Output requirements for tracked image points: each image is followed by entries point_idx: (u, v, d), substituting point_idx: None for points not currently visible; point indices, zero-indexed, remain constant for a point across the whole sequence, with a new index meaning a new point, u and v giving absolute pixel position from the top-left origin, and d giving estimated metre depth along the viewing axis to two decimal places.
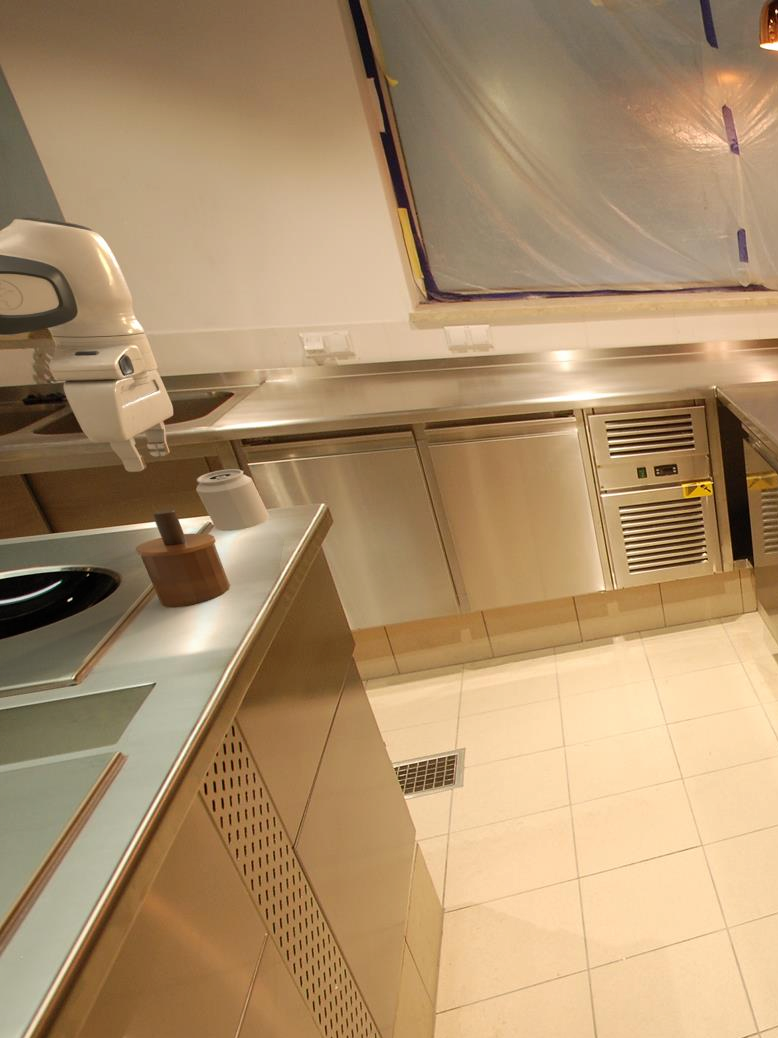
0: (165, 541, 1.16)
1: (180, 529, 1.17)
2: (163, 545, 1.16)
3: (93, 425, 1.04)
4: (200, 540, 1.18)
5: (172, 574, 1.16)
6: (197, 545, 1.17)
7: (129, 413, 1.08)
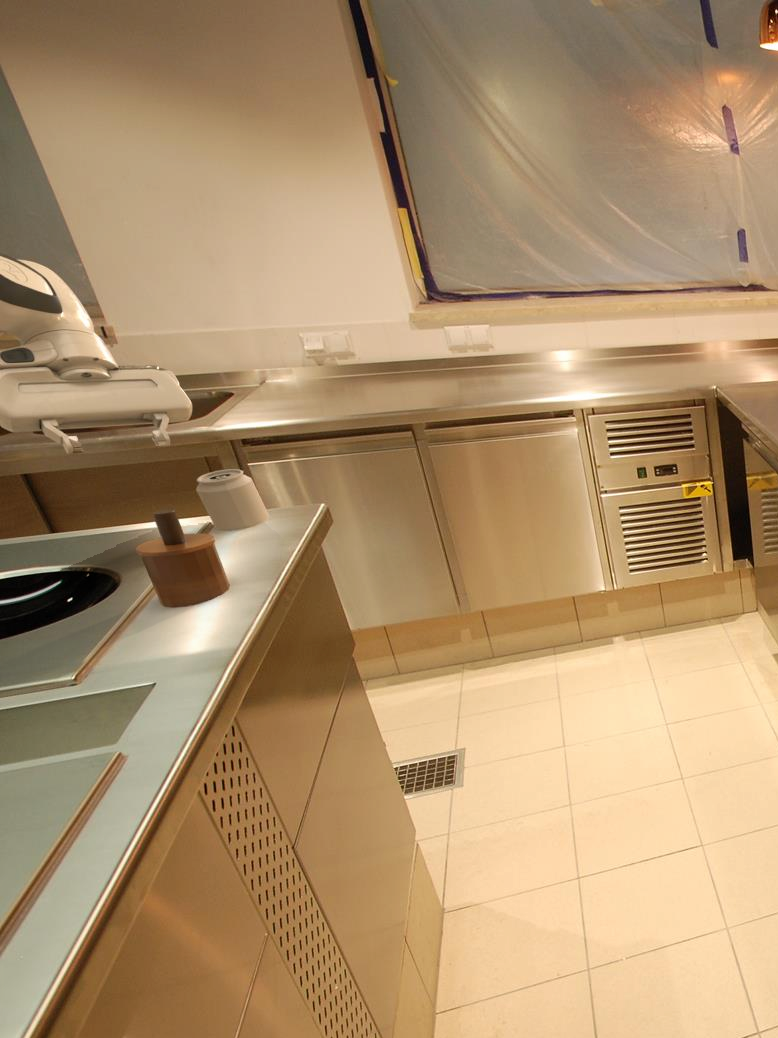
0: (165, 541, 1.16)
1: (180, 529, 1.17)
2: (163, 545, 1.16)
3: None
4: (200, 540, 1.18)
5: (172, 574, 1.16)
6: (197, 545, 1.17)
7: (37, 398, 1.13)
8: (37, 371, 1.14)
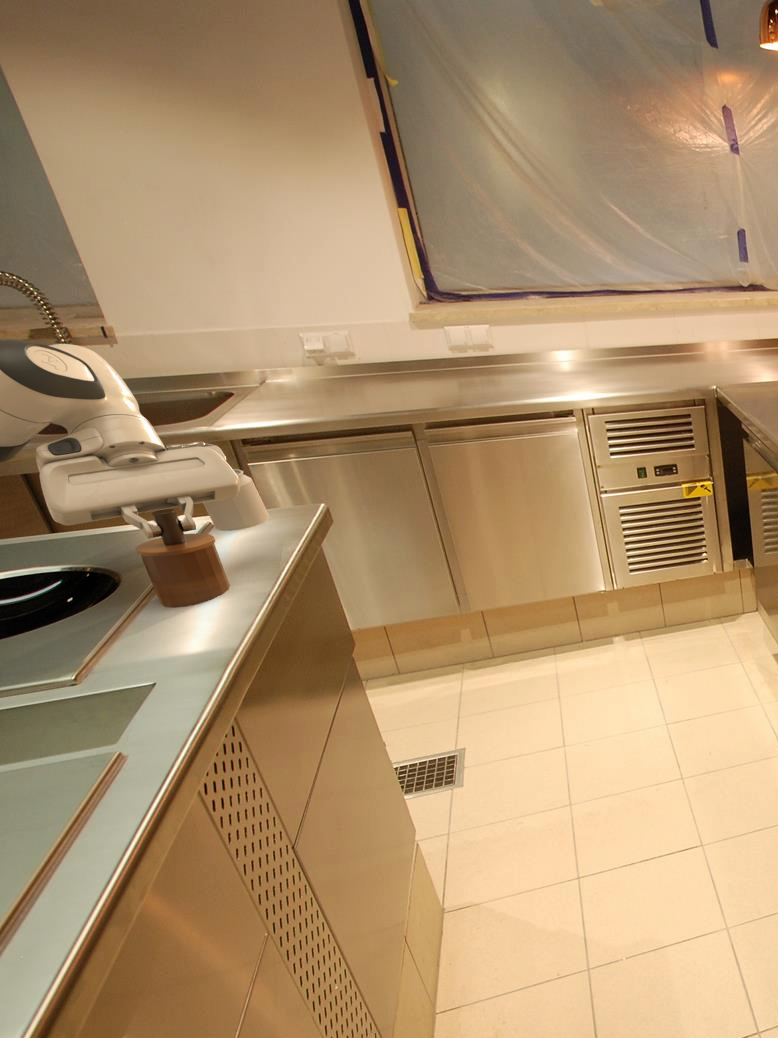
0: (165, 541, 1.16)
1: (180, 529, 1.17)
2: (163, 545, 1.16)
3: (49, 509, 1.10)
4: (200, 540, 1.18)
5: (172, 574, 1.16)
6: (197, 545, 1.17)
7: (87, 489, 1.11)
8: (85, 461, 1.12)
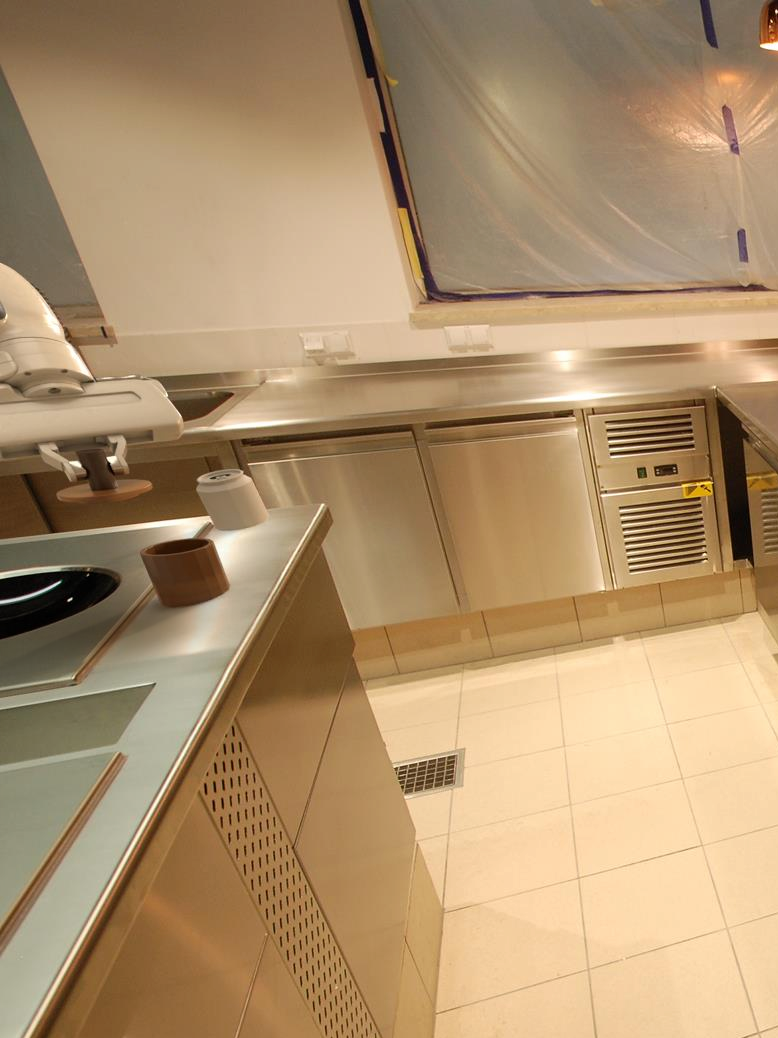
0: (92, 486, 1.00)
1: (110, 472, 1.00)
2: (89, 490, 1.00)
3: None
4: (134, 486, 1.02)
5: (172, 574, 1.16)
6: (129, 490, 1.00)
7: None
8: None
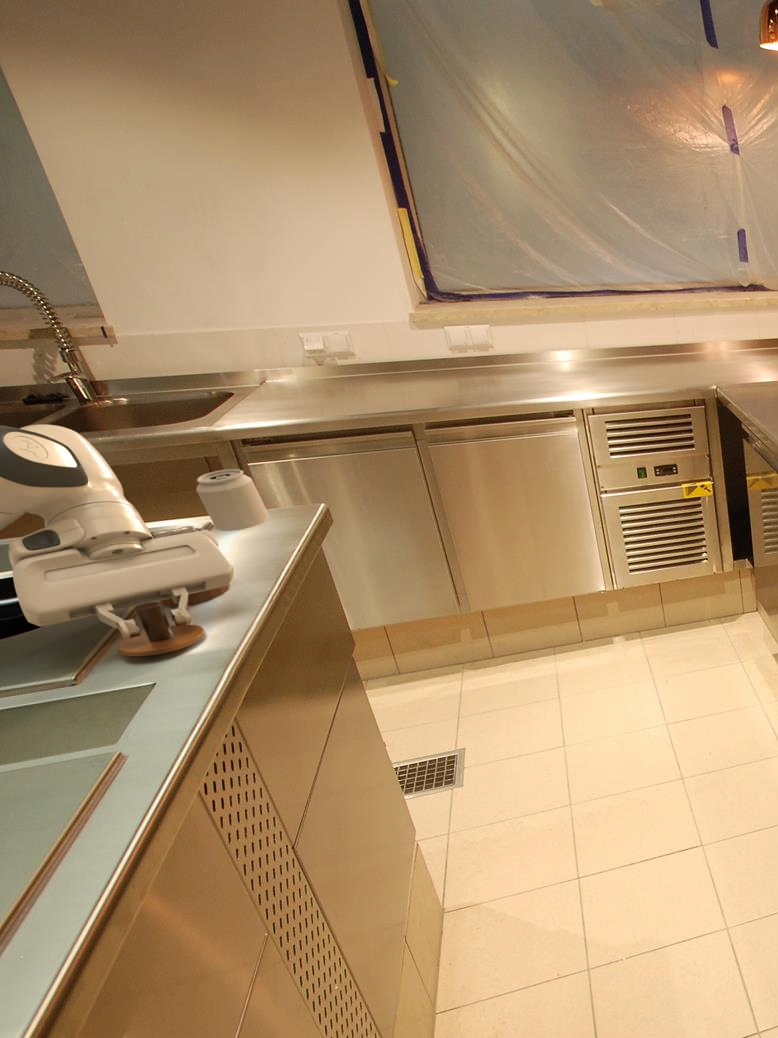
0: (150, 638, 1.07)
1: (166, 623, 1.07)
2: (148, 641, 1.07)
3: (22, 609, 1.00)
4: (188, 634, 1.09)
5: None
6: (186, 641, 1.07)
7: (66, 586, 1.02)
8: (64, 555, 1.02)
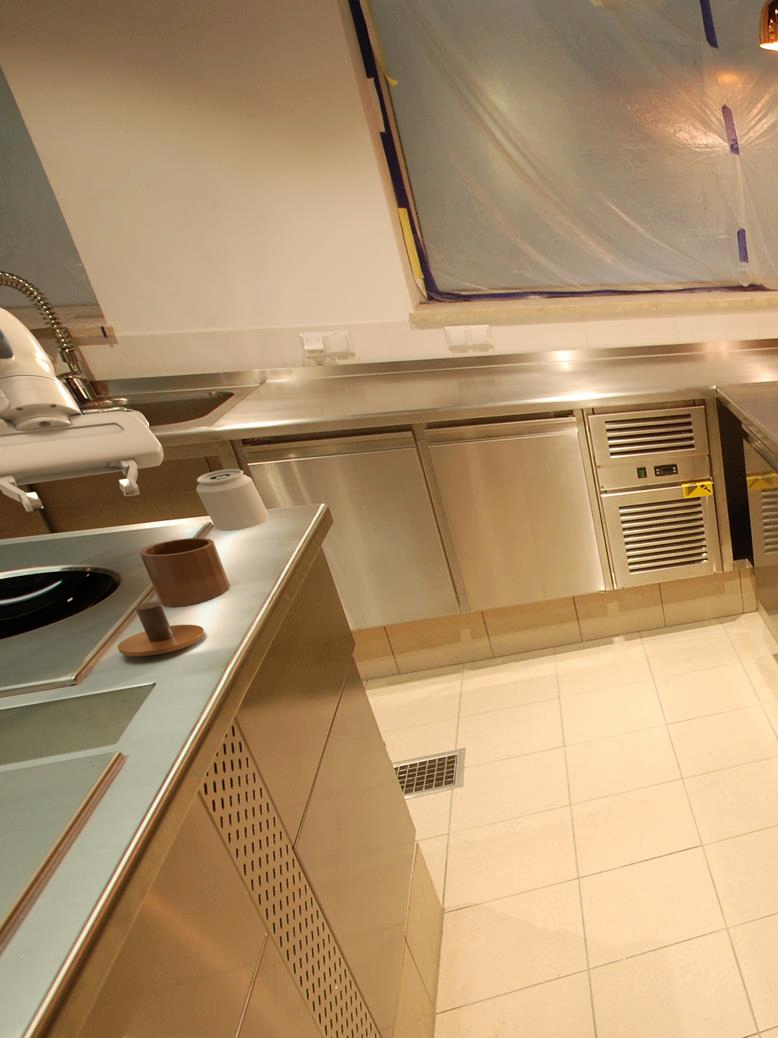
0: (150, 638, 1.07)
1: (166, 623, 1.07)
2: (148, 641, 1.07)
3: None
4: (188, 634, 1.09)
5: (172, 574, 1.16)
6: (186, 641, 1.07)
7: None
8: None
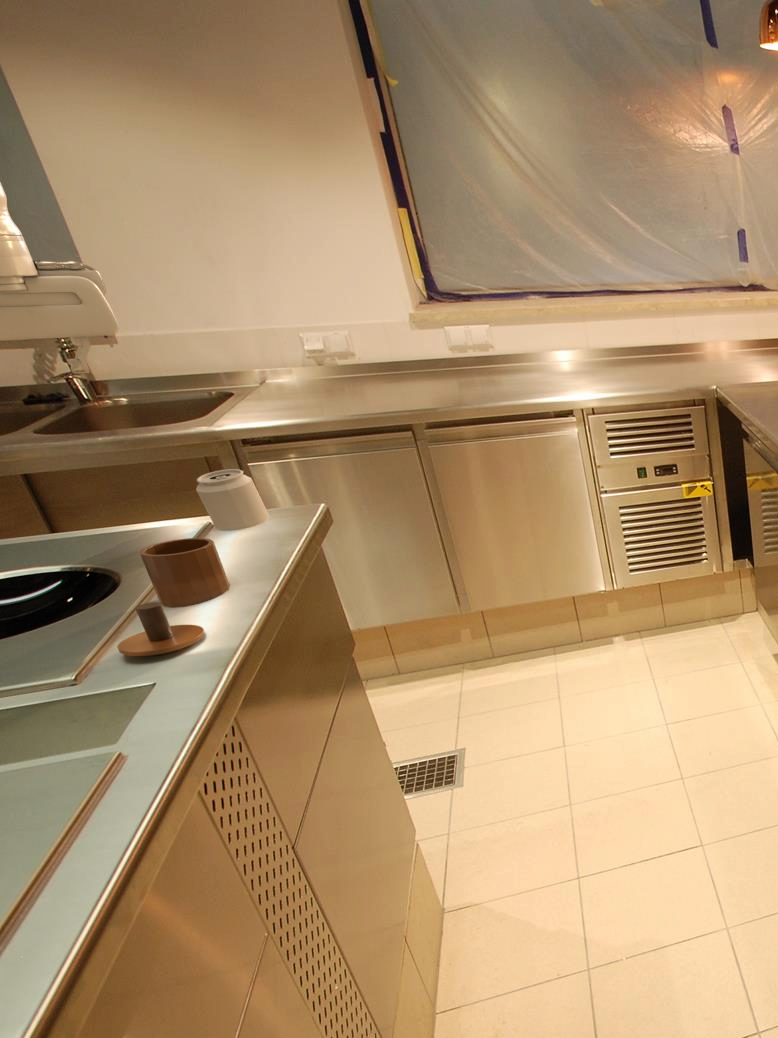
0: (150, 638, 1.07)
1: (166, 623, 1.07)
2: (148, 641, 1.07)
3: None
4: (188, 634, 1.09)
5: (172, 574, 1.16)
6: (186, 641, 1.07)
7: None
8: None
